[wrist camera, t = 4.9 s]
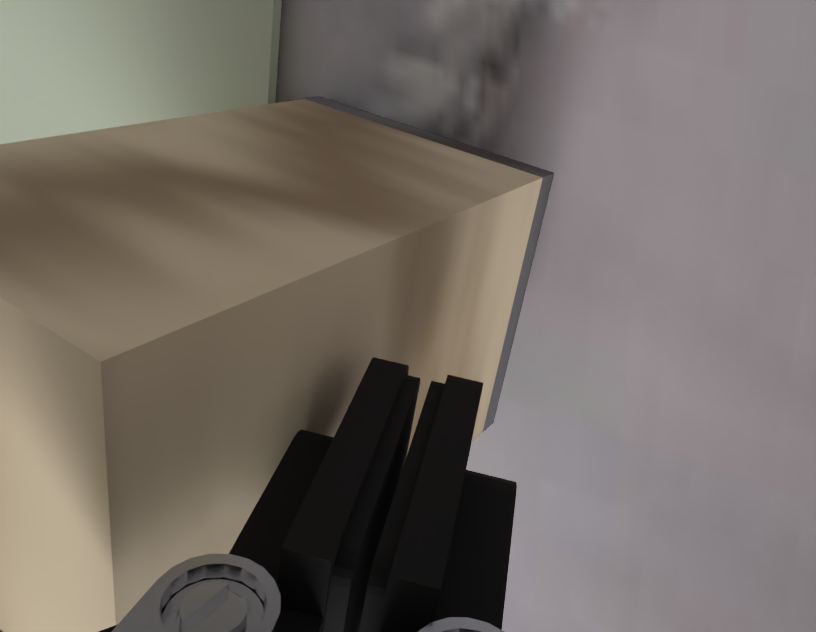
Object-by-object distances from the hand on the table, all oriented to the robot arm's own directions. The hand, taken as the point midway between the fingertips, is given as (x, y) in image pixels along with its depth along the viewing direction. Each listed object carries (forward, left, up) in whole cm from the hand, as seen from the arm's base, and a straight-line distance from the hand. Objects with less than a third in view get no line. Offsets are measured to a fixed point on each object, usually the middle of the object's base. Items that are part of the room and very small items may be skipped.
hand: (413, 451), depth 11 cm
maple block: (+2, 0, -7) cm, 7 cm away
